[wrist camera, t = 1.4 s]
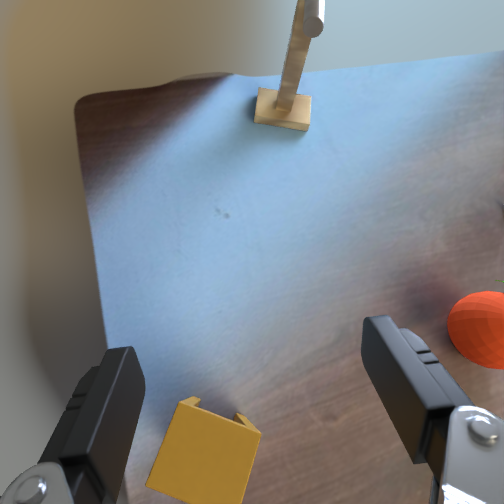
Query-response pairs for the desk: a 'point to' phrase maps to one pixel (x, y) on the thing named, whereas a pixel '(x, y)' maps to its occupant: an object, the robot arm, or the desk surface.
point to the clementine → (479, 328)
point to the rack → (292, 73)
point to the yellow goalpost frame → (204, 456)
